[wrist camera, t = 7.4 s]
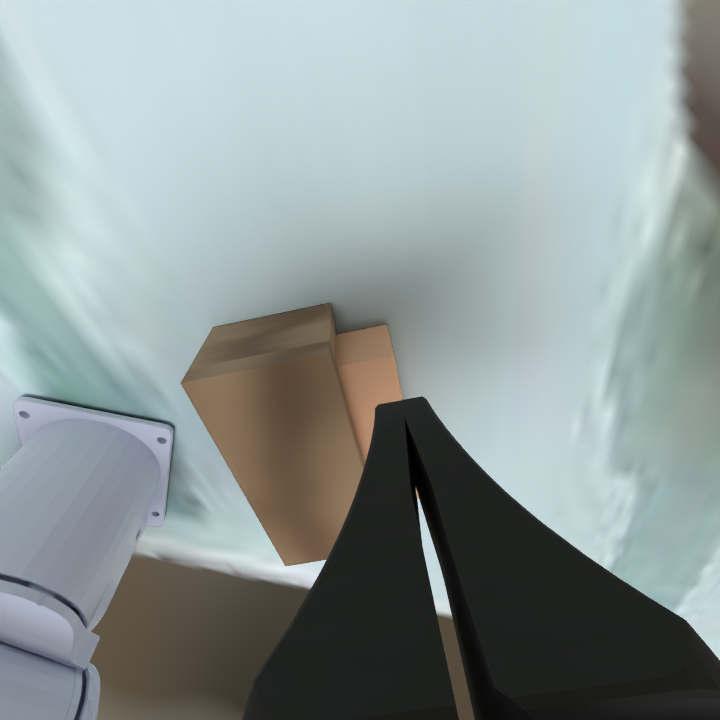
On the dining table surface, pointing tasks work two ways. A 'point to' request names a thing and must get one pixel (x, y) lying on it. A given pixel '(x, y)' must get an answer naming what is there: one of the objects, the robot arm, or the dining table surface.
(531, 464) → the dining table surface
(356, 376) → the peach rectangular prism
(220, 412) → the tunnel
